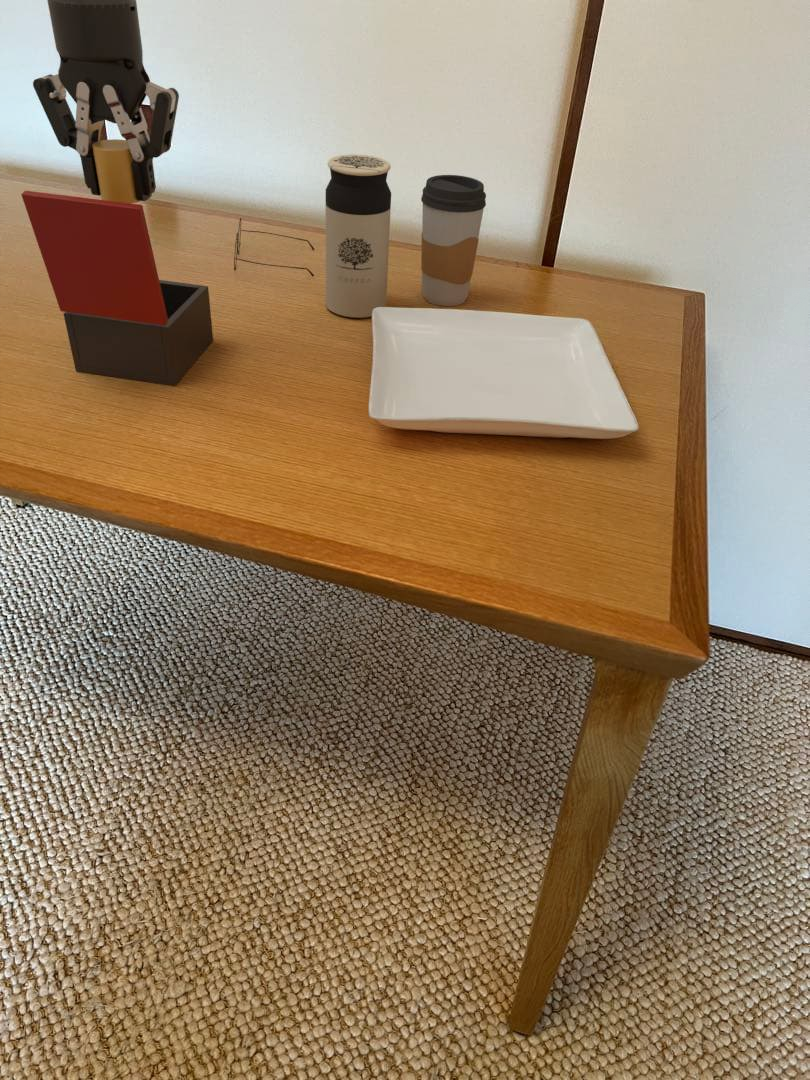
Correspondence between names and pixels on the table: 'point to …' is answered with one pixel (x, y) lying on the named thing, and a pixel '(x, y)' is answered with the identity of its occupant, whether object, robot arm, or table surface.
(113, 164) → the mustard yellow cylinder
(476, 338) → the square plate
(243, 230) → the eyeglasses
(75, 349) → the open box
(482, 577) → the table surface
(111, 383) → the table surface
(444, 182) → the coffee cup
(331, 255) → the travel mug
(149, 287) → the box lid
